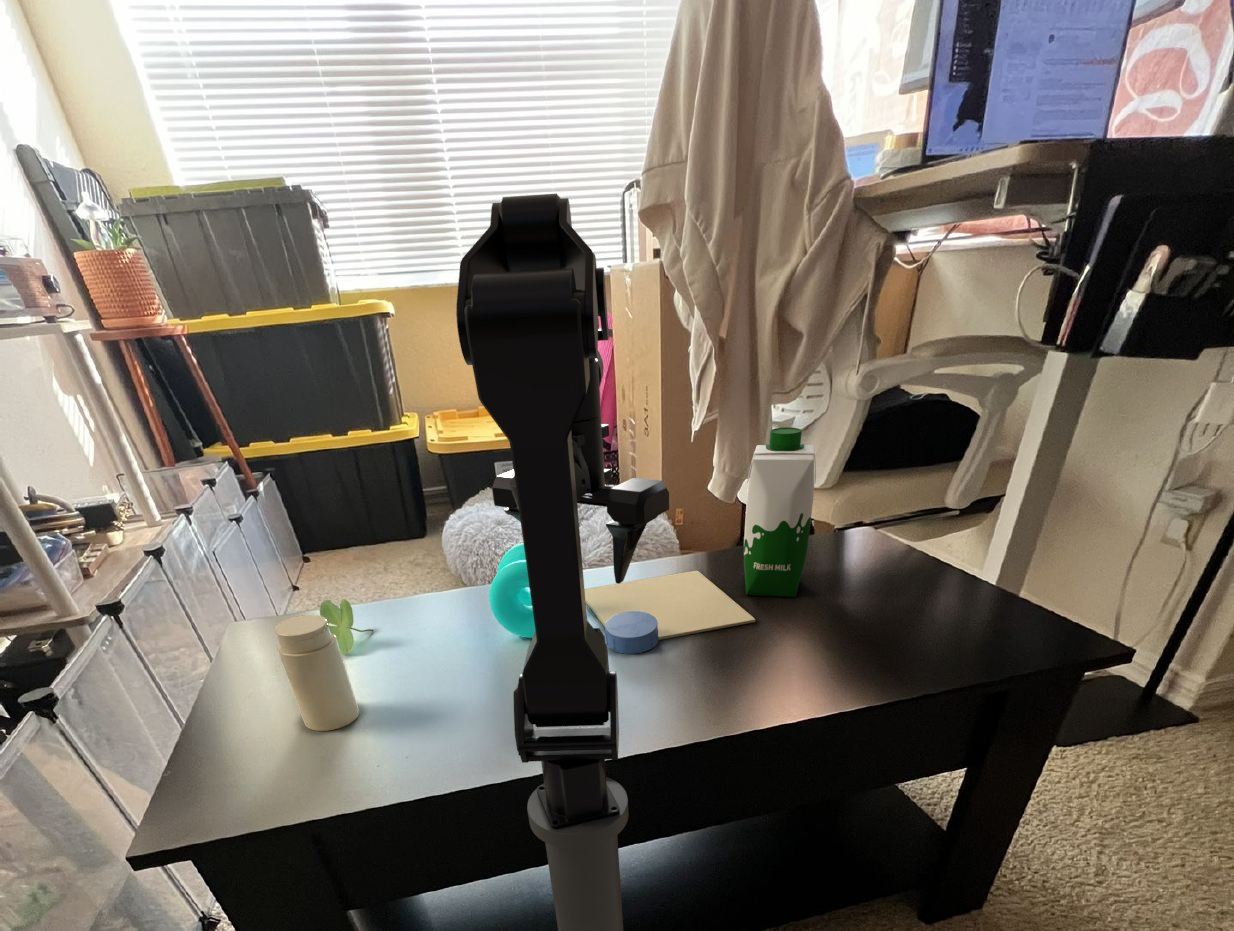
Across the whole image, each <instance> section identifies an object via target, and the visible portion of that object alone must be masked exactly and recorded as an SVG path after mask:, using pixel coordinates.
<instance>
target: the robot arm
mask: <svg viewBox="0 0 1234 931" xmlns="http://www.w3.org/2000/svg"><path fill="white" fill-rule="evenodd" d="M490 209H491V211H490V224H489V227H488V228H487V229H486V230H485V231H484V232H483V234H481V236H480V237H479V238H478V239H477V241H476V242H475V243H474V244H473V245H472V246H471V248H469V250H468V251H467V252H466V253H465V254H464V256H463V257H461V260H460V262H459V272H458V284H457V295H456V304H455V305H456V306H455V308H456V312H455V314H456V315H455V316H456V326H457V327H456V328H457V336H458V341H459V346H460V349H461V354H462V357H463V360H464V362H465V364H466V365H467V366H472V371H473V376H474V382H475V388H476V392H477V397H478V401H479V402H480V403H481V405H482V406H483V408H484V409H485V410H486V411H487V413H488V414H489V416H490V417H491V419H492V420H493V421H494V423H495V424H496V425H497V427H498V428H499V429H500V431H501V432H502V434H503V435H504V436H505V437H506V439H507V440H508V442H509V447H510V453H511V454H510V455H511V462H512V470H509V471H507V472H503V473H501V474H499V475H496V476H495V479H494V481H493V484H492V486H491V491H492V499H493V504H494V506H495V507H501V508H504V509H503V511H504V512H505V514H506V515H508V516H511V517H513V518H515V520H517V521H518V522H520V526H521V535H522V543H524V550H525V558H526V565H527V572H528V580H529V587H530V588H529V587H528V588H529V591H530V594H531V602H532V609H533V616H534V624H535V633H534V635H533V638H531V641H530V643H529V645H528V647H527V650H526V656H525V660H524V664H523V669H522V673H520V674H519V677H518V681H517V682H518V683H517V687H516V688H515V689H514V691H513V725H514V726H513V727H514V728H513V729H514V738H515V746H516V752H517V753H518V754H517V755H518V756H520V761H521V763H522V764H524V763H525V764H526V763H529V762H541V770H542V778H543V783H544V785H542V784H541V785H538V786H537V787H536V789H537V794H538V796H539V799H540V801H541V804H542V806H543V809H544V811H545V814H546V816H547V819H548V821H549V824H550V826H551V828H552V829H560V828H564V827H569V826H573V825H577V824H581V823H586V822H590V821H594V820H598V819H603V818H607V817H611V816H615V815H618V814H619V813H620V809H619V806H618V804H617V802H616V800H615V799H614V797H613V795H612V793H611V791H610V789H609V787H608V785H607V782H606V777H607V770H606V760H607V761H608V760H611V761H618V760H619V747H620V746H619V745H620V721H619V720H620V717H619V715H620V714H619V693H618V692H619V689H618V674H617V671H616V670H610V664H609V650H608V645H607V642H606V635H605V634H604V633H603V631H602V630H601V628H600V627H593V625H592V624H591V623H590V622H589V620H588V616H587V615H588V614H587V603H586V602H585V590H584V589H585V579H584V567H583V566H584V565H583V556H582V554H583V553H582V544H581V543H582V542H581V533H580V520H579V519H580V518H579V508H578V507H579V506H578V505H579V504H580V505H590V506H597V507H604V508H606V513H607V515H608V516H609V517H610V518H611V519H612V520H610V521H609V522H607V523H605V527H606V528H607V530H608V531H609V533H610V534H611V536H612V556H613V561H612V562H613V574H614V580H615V584H620V583H624V580H625V578H626V576H627V573H628V570H629V567H630V565H631V562H632V559H633V556H634V554H635V552H636V549H637V546H638V543H639V541H640V539H641V537H642V535H643V533H644V531H645V529H646V527H647V525H648V523H650V522H652V521H654V520H656V519H657V518H658V516H660V515H662V514H664V513H665V512H667V511H669V510H670V492H669V490H668V488H667V486H666V484H665V483H664V481H663V480H659V479H649V478H639V477H632V478H630V479H628V480H626V481H624V482H622V483H619V484H617V485H616V486H609V485H606V483H608V482H610V481H612V478H613V477H612V469H610V468H605V462H604V442H603V439H604V438H607V437H610V424H607V423H602V406H601V389H600V388H601V384H602V380H603V376H604V361H603V358H602V355H601V353H600V350H599V342H600V341H601V342H602V341H609V338H610V337H609V336H610V334H609V331H610V330H609V319H608V318H609V317H608V306H607V305H608V303H607V288H606V278H605V277H606V274H605V267H604V266H602V267H601V266H600V267H598V266H597V258H596V254H595V253H594V251H593V250H592V248H590V246H589V245H588V244H587V242H585V240H584V239H583V238H582V237H581V236H580V234H578V232H577V231H576V230H575V229H574V228H573V224H572V214H571V205H570V200H569V197H565V198H561V197H560V196H559V194H557V193H542V194H530V195H529V194H526V195H514V196H513V195H511V196H502V198H501V200H499V202H492V203H491V208H490ZM600 327H601V328H600ZM609 721H610V722H609ZM607 722H609V725H610V726H605V724H606V723H607ZM534 725H535V727H536V728H534ZM589 726H590V727H589ZM593 726H594V727H593ZM595 726H597V727H595ZM599 726H600V727H599ZM557 727H560V728H557ZM563 727H564V728H563Z"/></svg>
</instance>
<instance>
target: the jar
mask: <svg viewBox="0 0 1234 931" xmlns="http://www.w3.org/2000/svg"><path fill="white" fill-rule="evenodd" d="M329 625H330V623H329V622H328V621H327V619H325V618H324V617H322V616H320V615H317V614H306V615H298V616H294V617H290V618H288V619H285V620H283V621H281V622H279V623H278V624H277V625H276V626H275V627H274V633H275V636H276V639H277V641H278V645H277V647H276V650H277V653H278V656H279V659H280V662H281V665H282V667H283V670H284V671H285V675H286V678H287V680H288V683H289V687H290V688H291V691H292V694H293V697H294V700H295V702H296V704H297V707H298V710H299V712H300V715H301V718H302V720H303V723H304V725H305V727H306V728H308V729H309V730H311V731H316V732H329V731H333V730H337V729H341V728H344V727H346V726H348V725H351V724H352V723H353V722H354V721H356V719H357V718H358V717H359V716H360V715H359V714H360V709H359V706H358V703H357V699H356V695H355V693H354V690H353V687H352V683H351V680H350V677H349V674H348V670H347V668H346V664H345V662H344V658H343V654H341V651H340V648H339V645H338V642H337V638H336V636H335V635H334V634H332V633H331V632H330V629H329Z"/></svg>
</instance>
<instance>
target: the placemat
mask: <svg viewBox="0 0 1234 931" xmlns="http://www.w3.org/2000/svg"><path fill="white" fill-rule="evenodd" d="M584 590H585V602H586V606H588V607H589V608H590V610H591V611H592V613H593V614H594V615H595V617H596V618H597V620H598V621H599V623H601V624H602V626H603V628H605V624H606V622H607V620H608V619H610V618H611V617H612V616H614V615H617V614H619V613H623V612H629V611H640V612H645V613H648V614H651V615H652V616H654V617H655V618H656V619H657V622H658V641H661V640H666V639H671V638H677V637H682V636H688V635H692V634H698V633H703V632H709V631H715V630H720V629H725V628H730V627H737V626H741V625H747V624H748V625H749V624H752V623H756V622H757V621H756V619H755V617H753V615H752V614H750V613H749V612H748V611H746V609H744V608H743V607H742V606H740V605H739V604H738V603H737V602H735V601H734V600H733V599H732V598H731V597H730V596H729V595H727V593H725V592H724V591H723V590H722V589H720V588H719V587H718V586H716V585H715V584H714V583H713V582H712V581H711V580H710V579H708V578H707V577H706V576H705V575H704V574H702V573H701V572H700V571H699V570H691V571H685V572H679V573H673V574H667V575H661V576H655V577H650V578H644V579H637V580H631V581H626V582H621V583H620V584H617V583H614V584H613V583H612V584H607V585H601V586H596V587H589V588H584Z"/></svg>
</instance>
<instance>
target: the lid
mask: <svg viewBox="0 0 1234 931" xmlns="http://www.w3.org/2000/svg"><path fill="white" fill-rule="evenodd" d="M604 629H605V643H606V645H607V648H609V649H610V650H612V651H614V652H615V653H619V654H625V655H634V654H635V655H636V654H640V653H644V652H647V651H649V650H651V649H653V648H654V647H655V646H656V645H657V644H658V642H659V640H658V622H657V619H656V618H655V617H654V616H652V615H651V614H648V613H645V612H640V611H629V612H623V613H619V614H617V615H614V616H612V617H611V618H610V619H608V620H607V622H606V624H605V627H604Z"/></svg>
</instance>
